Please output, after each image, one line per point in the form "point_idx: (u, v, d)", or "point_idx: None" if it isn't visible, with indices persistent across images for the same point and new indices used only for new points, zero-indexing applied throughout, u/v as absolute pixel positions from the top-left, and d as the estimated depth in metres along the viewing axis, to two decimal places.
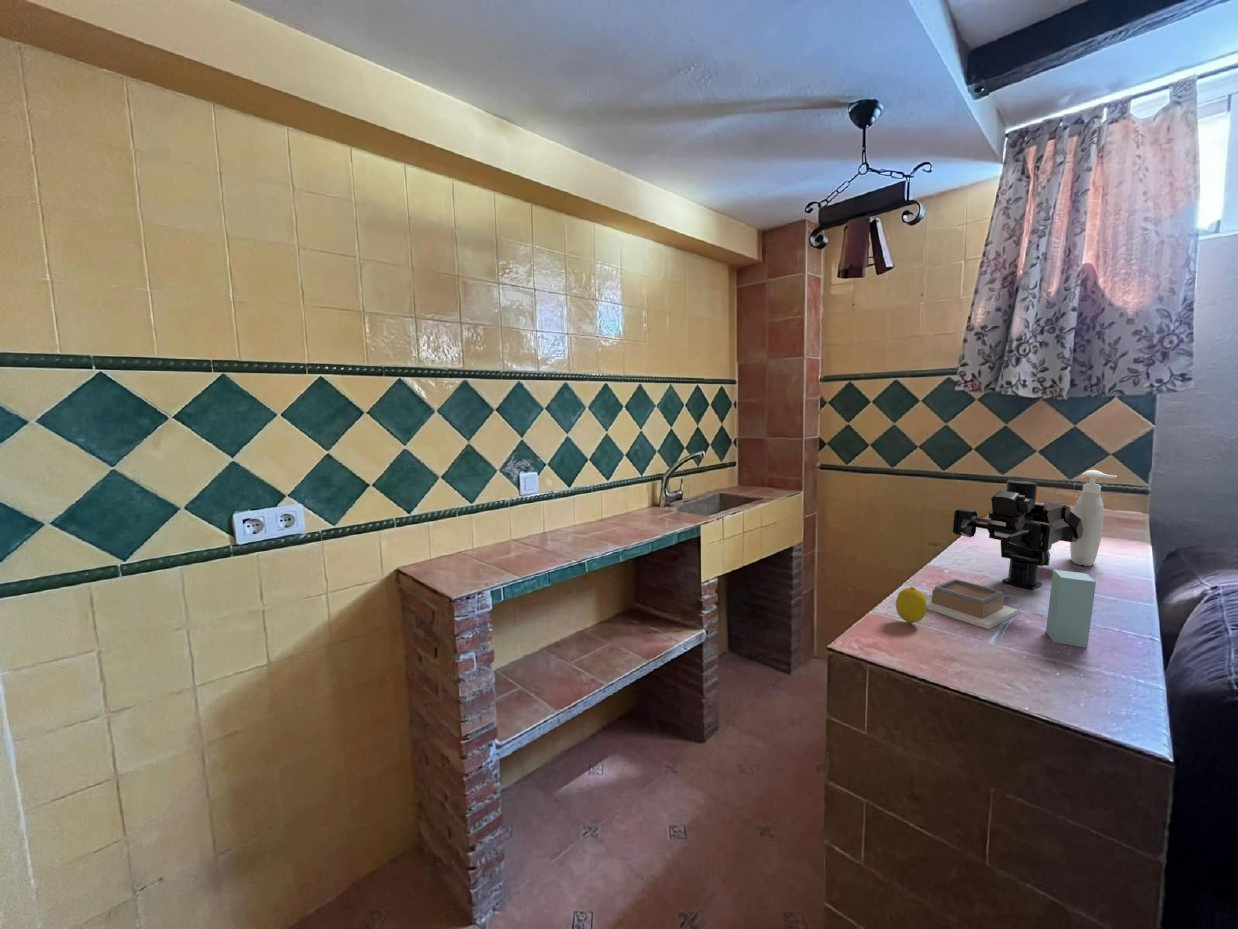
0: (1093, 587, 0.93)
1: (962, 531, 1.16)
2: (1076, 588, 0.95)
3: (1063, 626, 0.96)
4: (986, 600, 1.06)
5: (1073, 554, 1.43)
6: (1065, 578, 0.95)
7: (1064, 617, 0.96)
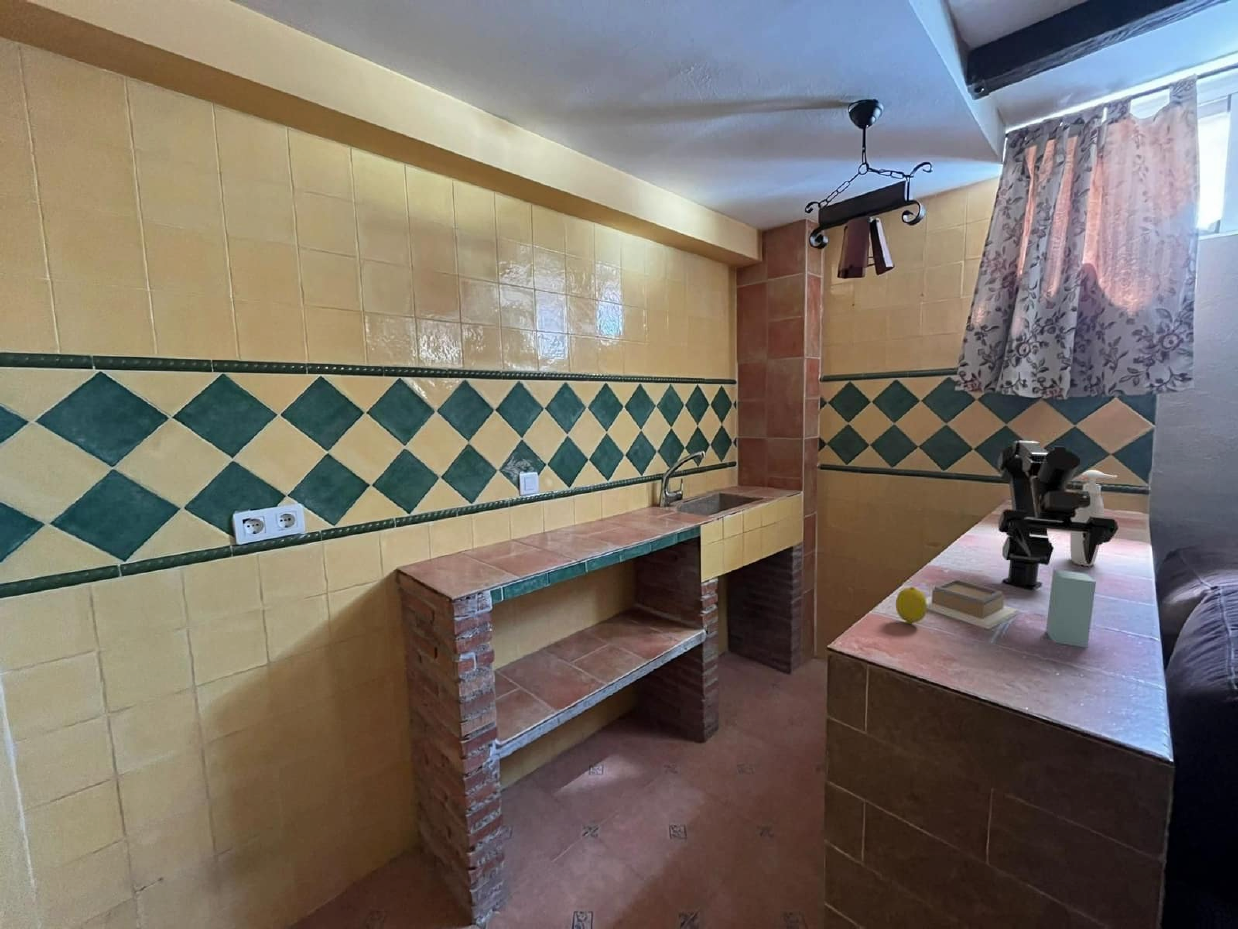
0: (1093, 587, 0.93)
1: None
2: (1076, 588, 0.95)
3: (1063, 626, 0.96)
4: (986, 600, 1.06)
5: (1073, 554, 1.43)
6: (1065, 578, 0.95)
7: (1064, 617, 0.96)
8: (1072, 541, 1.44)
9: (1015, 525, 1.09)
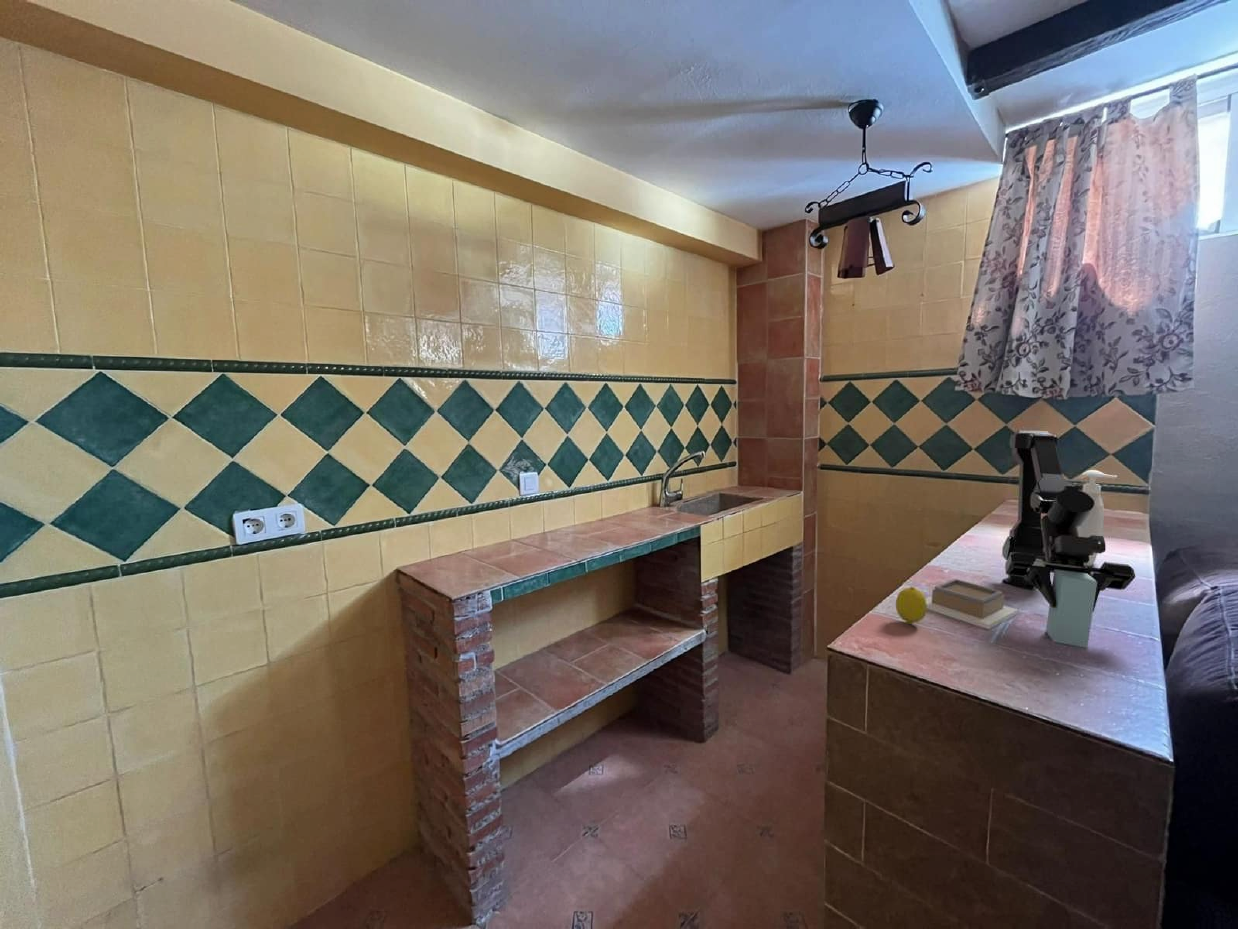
0: (1094, 587, 0.93)
1: None
2: (1077, 588, 0.94)
3: (1063, 626, 0.96)
4: (986, 600, 1.06)
5: None
6: (1066, 578, 0.95)
7: (1065, 617, 0.96)
8: None
9: (1035, 571, 1.01)
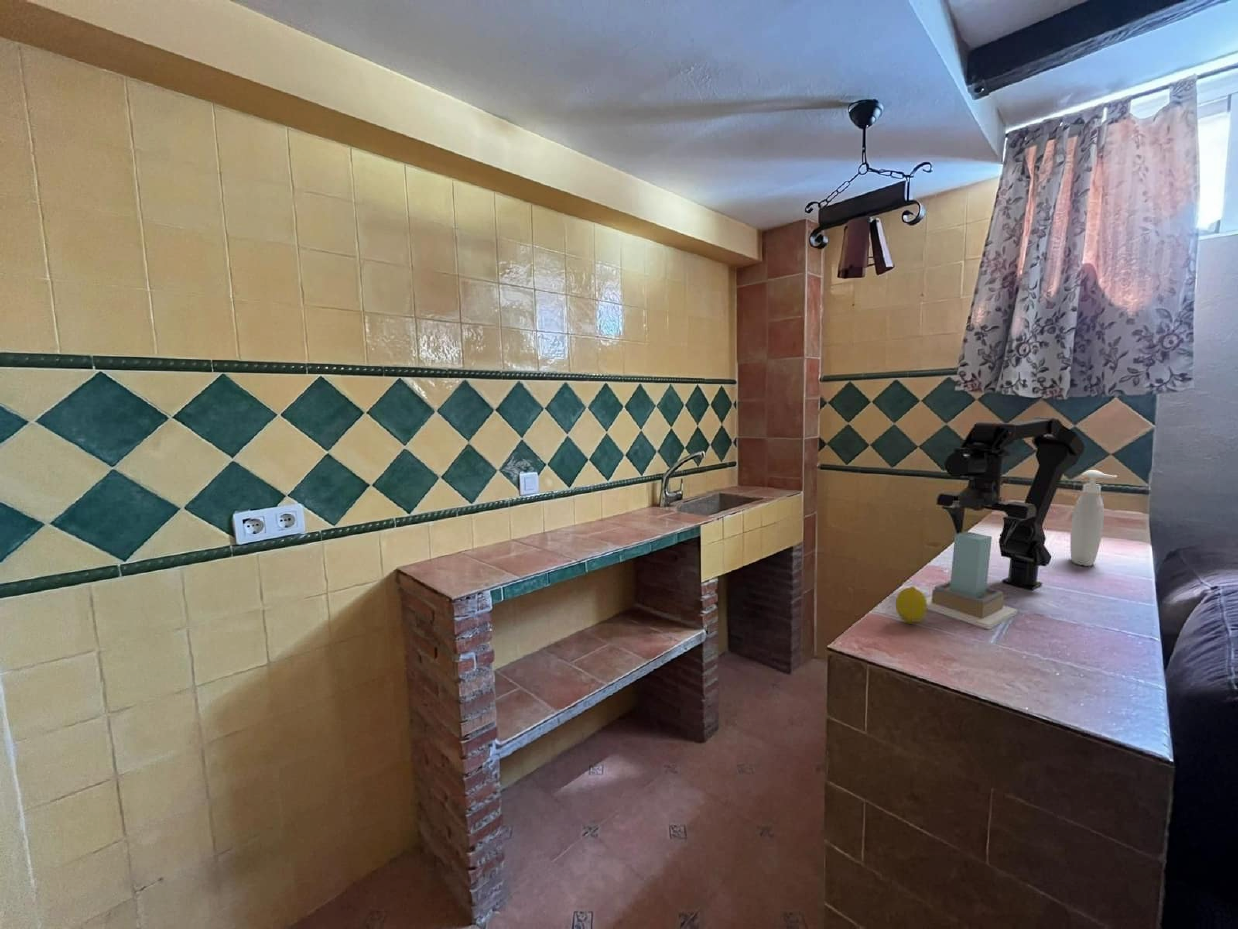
0: (978, 544, 1.07)
1: None
2: (966, 544, 1.09)
3: (957, 577, 1.11)
4: (986, 600, 1.06)
5: (1073, 554, 1.43)
6: (958, 535, 1.10)
7: (957, 570, 1.10)
8: (1072, 541, 1.44)
9: None
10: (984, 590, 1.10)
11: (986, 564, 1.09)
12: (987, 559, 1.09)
